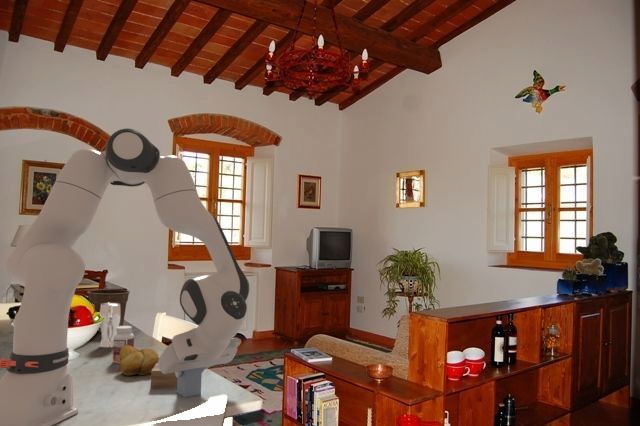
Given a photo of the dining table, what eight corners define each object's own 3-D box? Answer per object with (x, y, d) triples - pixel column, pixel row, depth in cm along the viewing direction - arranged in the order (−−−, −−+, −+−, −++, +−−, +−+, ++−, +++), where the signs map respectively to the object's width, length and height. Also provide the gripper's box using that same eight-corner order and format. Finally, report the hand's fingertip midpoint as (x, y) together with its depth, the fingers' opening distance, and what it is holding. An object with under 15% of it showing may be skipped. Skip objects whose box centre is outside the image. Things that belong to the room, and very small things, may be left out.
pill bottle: (129, 358, 170) (130, 324, 170) (136, 362, 165) (137, 327, 166) (109, 360, 166) (111, 326, 167) (116, 365, 161) (117, 329, 162)
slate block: (200, 394, 136) (202, 359, 136) (185, 397, 133) (186, 361, 133) (192, 389, 139) (193, 356, 140) (177, 392, 136) (178, 358, 137)
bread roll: (163, 367, 161) (164, 341, 161) (164, 376, 152) (166, 348, 152) (118, 370, 156) (119, 343, 157) (117, 379, 147) (118, 350, 148)
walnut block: (181, 389, 140) (181, 370, 140) (150, 389, 139) (151, 370, 139) (184, 380, 148) (185, 363, 148) (155, 380, 147) (156, 363, 147)
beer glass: (98, 344, 188) (99, 303, 189) (118, 343, 191) (120, 302, 192) (98, 348, 182) (100, 305, 182) (119, 347, 185) (121, 305, 185)
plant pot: (121, 325, 225) (122, 288, 225) (134, 331, 212) (135, 292, 213) (81, 329, 215) (82, 289, 215) (92, 336, 202) (93, 294, 203)
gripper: (239, 327, 139) (218, 357, 146) (167, 336, 125) (148, 368, 132) (248, 347, 135) (226, 376, 142) (175, 358, 121) (155, 390, 128)
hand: (188, 372), depth 137 cm, fingers closed on slate block, 4 cm apart
